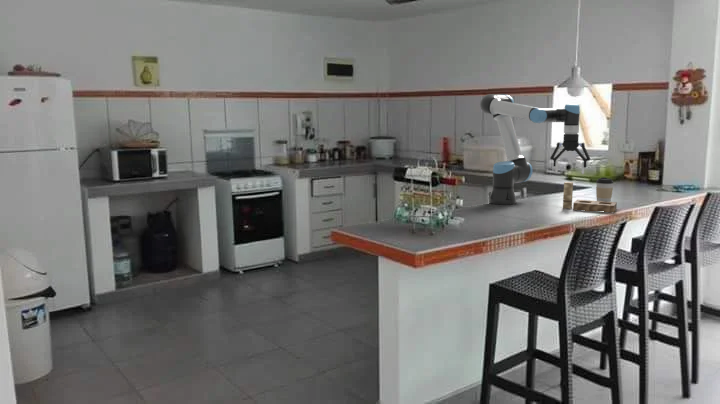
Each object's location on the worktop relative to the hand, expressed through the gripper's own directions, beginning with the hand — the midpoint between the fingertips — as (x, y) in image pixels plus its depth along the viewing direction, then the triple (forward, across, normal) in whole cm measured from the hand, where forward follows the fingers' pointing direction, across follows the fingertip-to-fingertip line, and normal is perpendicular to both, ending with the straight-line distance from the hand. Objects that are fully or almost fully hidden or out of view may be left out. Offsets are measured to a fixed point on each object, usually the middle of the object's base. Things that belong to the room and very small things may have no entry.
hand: (569, 173), depth 314 cm
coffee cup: (+19, +16, +19) cm, 31 cm away
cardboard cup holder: (+19, +14, 0) cm, 24 cm away
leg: (+19, 0, 0) cm, 19 cm away
